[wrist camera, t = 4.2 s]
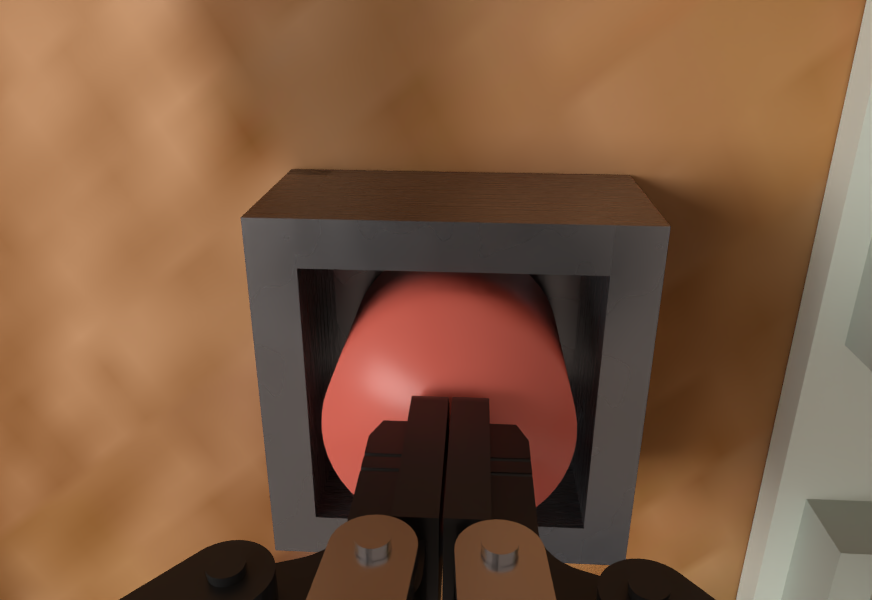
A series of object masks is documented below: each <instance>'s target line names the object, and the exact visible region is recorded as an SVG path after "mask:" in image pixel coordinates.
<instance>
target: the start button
mask: <svg viewBox="0 0 872 600" xmlns="http://www.w3.org/2000/svg"><path fill="white" fill-rule="evenodd" d="M412 396H440V397H449V433H450V419H451V405H452V397H475V398H489V411H490V424H512V425H517V426H518V427H519V429H520V430H521V431H522V433H523V434H524V435H525V436H526V438H527V439H528V440H529V446H530V456H531V466H532V477H533V485H534V494H535V504H536V507H537V506H538V505H539V504H541V503H542V502H543V501H544V500H545V499H546V498H547V497H548V496H549V495H550V494H551V493H552V492H553V491H554V490H555V489H556V487H557V486H558V484H559V483H560V482H561V480H562V479H563V477H564V475H565V473H566V471H567V469H568V467H569V465H570V463H571V460H572V457H573V454H574V451H575V445H576V439H577V419H576V412H575V406H574V401H573V397H572V392H571V388H570V383H569V379H568V374H567V370H566V365H565V361H564V356H563V352H562V347H561V343H560V338H559V334H558V329H557V324H556V320H555V317H554V313H553V310H552V307H551V305H550V303H549V301H548V299H547V297H546V295H545V294H544V292H543V291H542V289H541V288H540V286H539V285H538V284H537V283H536V282H535V280H534V279H533V278H532V277H531V276H530V275H529V274H505V273H464V272H423V271H383V272H382V273H381V274H380V275H379V276H378V277H377V279H376V280H375V281H374V282H373V283H372V284H371V286H370V287H369V289H368V290H367V292H366V293H365V295H364V297H363V299H362V301H361V303H360V306H359V308H358V311H357V314H356V316H355V319H354V321H353V324H352V327H351V329H350V332H349V334H348V337H347V339H346V342H345V345H344V347H343V350H342V352H341V355H340V358H339V360H338V363H337V365H336V368H335V371H334V373H333V376H332V378H331V381H330V384H329V386H328V389H327V392H326V395H325V398H324V403H323V409H322V434H323V441H324V445H325V448H326V452H327V455H328V457H329V460H330V462H331V464H332V466H333V468H334V470H335V472H336V473H337V475H338V476H339V478H340V479H341V481H342V482H343V483H344V484H345V486H346V487H347V488H348V489H349V490H350V492H351V493H352V494H353V495H354V493H355V489H356V485H357V481H358V477H359V473H360V471H361V465H362V461H363V457H364V455H365V449H366V445H367V441H368V437H369V435H370V434H371V433H372V432H373V431H374V430H375V429H376V428H377V427H378V426H379V425H380V424H381V422H382V421H383V420H390V421H407V420H408V414H409V409H410V403H411V397H412Z"/></svg>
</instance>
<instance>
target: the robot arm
mask: <svg viewBox="0 0 872 600" xmlns="http://www.w3.org/2000/svg"><path fill="white" fill-rule="evenodd" d="M442 570H443V600H715V599H714V598H712V597H711V596H710V595H708V594H707V593H706V592H704V591H703V590H702V589H700V588H699V587H698V586H696V585H695V584H694V583H692V582H691V581H689V580H688V579H687V578H685V577H684V576H683V575H681V574H680V573H679V572H677V571H675V570H674V569H672V568H670V567H668V566H666V565H664V564H661V563H659V562H655V561H651V560H646V559H625V560H621V561H618V562H615V563H613V564H611V565H610V566H608V567H607V568H606V569H605V570H604V571H603V572H602V574H601V576H598V575H595V574H592V573H588V572H585V571H582V570H579V569H576V568H573V567H571V566H569V565H567V564H564V563H563V562H561V561H560V560H558V559H557V558H555V557H554V556H553V555H552V554H551V553H550V552H549V551H548V550H547V549H546V548H545V546H544V544H543V542H542V541H541V539H540V537H539V532H538V523H537V514H536V504H535V494H534V485H533V477H532V466H531V456H530V446H529V440H528V439H527V438H526V436H525V435H524V434H523V433H522V431H521V430H520V429H519V427H518V426H517V425H512V424H490V411H489V398H475V397H452V405H451V419H450V433H449V397H440V396H412V397H411V403H410V409H409V414H408V420H407V421H390V420H383V421H382V422H381V424H380V425H379V426H378V427H377V428H376V429H375V430H374V431H373V432H372V433H371V434H370V435H369V437H368V441H367V445H366V449H365V455H364V457H363V461H362V465H361V471H360V473H359V477H358V481H357V485H356V489H355V493H354V497H353V501H352V504H351V508H350V512H349V516H348V520H347V522H345V523H344V524H342V525H341V526H340V527H338V528H337V529H336V530H335V531H334V533H333V534H332V535H331V537H330V539H329V541H328V544H327V546H326V548H325V549H324V550H322V551H320V552H318V553H315V554H313V555H310V556H307V557H303V558H299V559H294V560H289V561H284V562H279V563H275V561H274V558H273V556H272V554H271V553H270V552H269V551H268V550H267V549H266V548H265V547H263V546H262V545H260V544H257V543H255V542H251V541H244V540H231V541H225V542H221V543H217V544H214V545H212V546H209V547H207V548H205V549H203V550H201V551H199V552H198V553H196V554H194V555H193V556H191V557H189V558H188V559H186V560H184V561H183V562H181V563H179V564H178V565H176V566H174V567H173V568H171V569H169V570H168V571H166V572H164V573H163V574H161V575H159V576H158V577H156V578H154V579H153V580H151V581H149V582H148V583H146V584H144V585H143V586H141V587H139V588H138V589H136V590H134V591H133V592H131V593H129V594H128V595H126V596H124V597H123V598H121V599H119V600H440V599H441V585H442Z"/></svg>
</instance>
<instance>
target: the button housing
mask: <svg viewBox="0 0 872 600" xmlns="http://www.w3.org/2000/svg"><path fill="white" fill-rule="evenodd" d="M241 225H242V234H243V244H244V253H245V263H246V272H247V282H248V291H249V301H250V310H251V320H252V330H253V339H254V349H255V358H256V368H257V377H258V387H259V396H260V406H261V415H262V425H263V434H264V444H265V453H266V463H267V472H268V482H269V492H270V501H271V511H272V520H273V530H274V539H275V549H276V550H284V551H306V552H320V551H322V550H324V549H325V548H326V546H327V544H328V541H329V539H330V537H331V535H332V534H333V533H334V531H335V530H336V529H337V528H338V527H340V526H341V525H342V524H344V523H345V522H347V520H348V516H349V512H350V508H351V504H352V501H353V497H354V495H353V494H352V493H351V492H350V490H349V489H348V488H347V487H346V486H345V484H344V483H343V482H342V481H341V479H340V478H339V476H338V475H337V473H336V472H335V470H334V468H333V466H332V464H331V462H330V460H329V457H328V455H327V452H326V448H325V445H324V441H323V434H322V409H323V403H324V398H325V395H326V392H327V389H328V386H329V384H330V381H331V378H332V376H333V373H334V371H335V368H336V365H337V363H338V360H339V358H340V355H341V352H342V350H343V347H344V345H345V342H346V339H347V337H348V334H349V332H350V329H351V327H352V324H353V321H354V319H355V316H356V314H357V311H358V308H359V306H360V303H361V301H362V299H363V297H364V295H365V293H366V292H367V290H368V289H369V287H370V286H371V284H372V283H373V282H374V281H375V280H376V279H377V277H378V276H379V275H380V274H381V273H382V272H383V271H423V272H464V273H505V274H529V275H530V276H531V277H532V278H533V279H534V280H535V282H536V283H537V284H538V285H539V286H540V288H541V289H542V291H543V292H544V294H545V295H546V297H547V299H548V301H549V303H550V305H551V307H552V310H553V313H554V317H555V320H556V324H557V329H558V334H559V338H560V343H561V347H562V352H563V356H564V361H565V365H566V370H567V374H568V379H569V383H570V388H571V392H572V397H573V401H574V406H575V412H576V419H577V439H576V445H575V451H574V454H573V457H572V460H571V463H570V465H569V467H568V469H567V471H566V473H565V475H564V477H563V479H562V480H561V482H560V483H559V484H558V486H557V487H556V489H555V490H554V491H553V492H552V493H551V494H550V495H549V496H548V497H547V498H546V499H545V500H544V501H543V502H542V503H541V504H539V505H538V506H537V507H536V514H537V523H538V532H539V537H540V539H541V541H542V542H543V544H544V546H545V548H546V549H547V550H548V551H549V552H550V553H551V554H552V555H553V556H554V557H555V558H557V559H558V560H560V561H561V562H563V563H575V564H598V565H611V564H613V563H615V562H618V561H621V560H625V559H626V552H627V545H628V538H629V530H630V523H631V515H632V508H633V501H634V493H635V486H636V479H637V471H638V464H639V456H640V449H641V442H642V434H643V427H644V420H645V412H646V405H647V397H648V390H649V383H650V375H651V368H652V361H653V353H654V346H655V338H656V331H657V324H658V316H659V309H660V302H661V294H662V287H663V279H664V272H665V265H666V257H667V250H668V243H669V235H670V228H671V226H670V225H669V224H668V222H667V221H666V220H665V219H664V217H663V216H662V215H661V214H660V212H659V211H658V210H657V209H656V207H655V206H654V205H653V204H652V202H651V201H650V200H649V198H648V197H647V196H646V195H645V193H644V192H643V191H642V190H641V188H640V187H639V186H638V185H637V183H636V182H635V181H634V180H633V178H632V177H631V176H630V175H590V174H532V173H474V172H417V171H359V170H301V169H291V170H290V171H289V172H288V173H287V174H286V175H285V176H284V177H283V178H282V179H281V180H280V181H279V182H278V183H277V184H276V185H274V186H273V187H272V188H271V189H270V190H269V191H268V192H267V193H266V194H265V195H264V196H263V197H262V198H261V199H260V200H259V201H258V202H257V203H256V204H255V205H253V206H252V207H251V208H250V209H249V210H248V211H247V212H246V213H245V214H244V215H243V216H242V217H241Z"/></svg>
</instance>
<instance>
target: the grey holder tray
mask: <svg viewBox="0 0 872 600" xmlns="http://www.w3.org/2000/svg"><path fill="white" fill-rule="evenodd" d="M871 596H872V0H867V1H866V6H865V10H864V15H863V20H862V24H861V29H860V33H859V38H858V42H857V47H856V52H855V56H854V61H853V65H852V70H851V75H850V79H849V84H848V88H847V93H846V98H845V102H844V107H843V111H842V116H841V120H840V125H839V130H838V134H837V139H836V143H835V148H834V153H833V157H832V162H831V166H830V171H829V176H828V180H827V185H826V189H825V194H824V199H823V203H822V208H821V212H820V217H819V221H818V226H817V231H816V235H815V240H814V244H813V249H812V254H811V258H810V263H809V267H808V272H807V277H806V281H805V286H804V290H803V295H802V299H801V304H800V309H799V313H798V318H797V322H796V327H795V332H794V336H793V341H792V345H791V350H790V355H789V359H788V364H787V368H786V373H785V378H784V382H783V387H782V391H781V396H780V400H779V405H778V410H777V414H776V419H775V423H774V428H773V433H772V437H771V442H770V446H769V451H768V456H767V460H766V465H765V469H764V474H763V478H762V483H761V488H760V492H759V497H758V501H757V506H756V511H755V515H754V520H753V524H752V529H751V534H750V538H749V543H748V547H747V552H746V557H745V561H744V566H743V570H742V575H741V579H740V584H739V589H738V593H737V598H736V600H870V599H871Z"/></svg>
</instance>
